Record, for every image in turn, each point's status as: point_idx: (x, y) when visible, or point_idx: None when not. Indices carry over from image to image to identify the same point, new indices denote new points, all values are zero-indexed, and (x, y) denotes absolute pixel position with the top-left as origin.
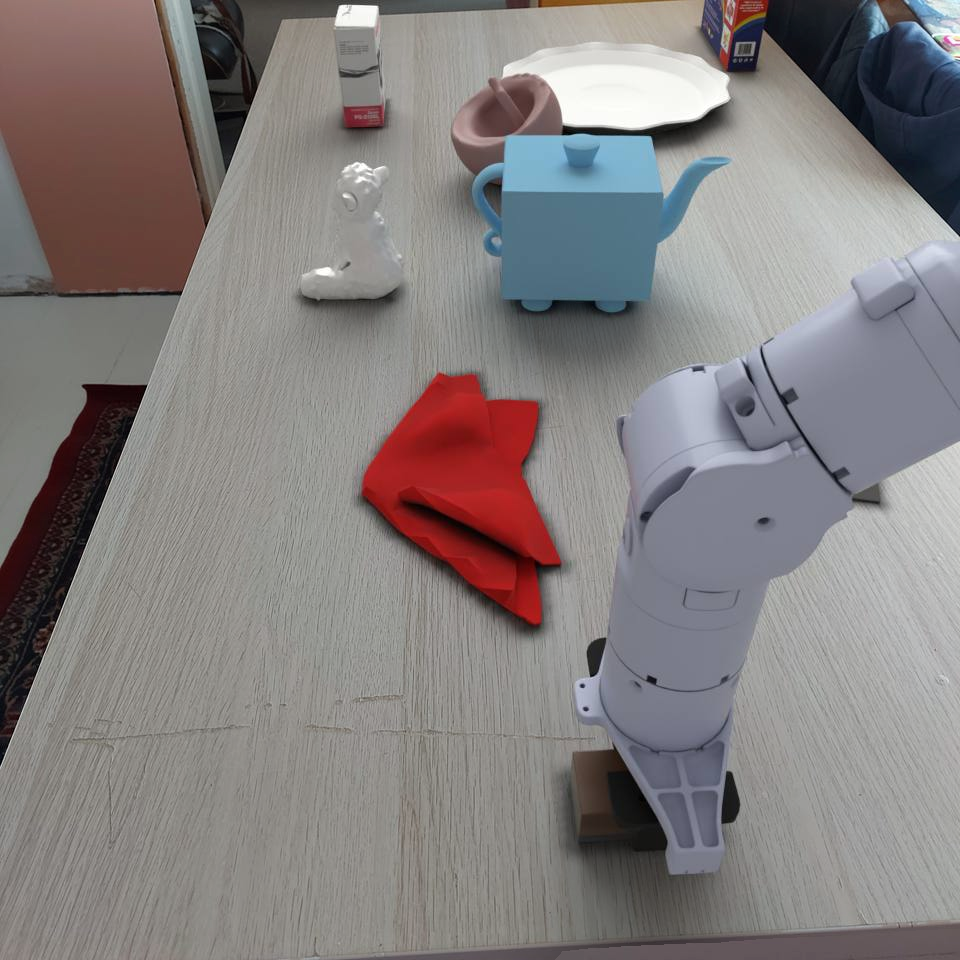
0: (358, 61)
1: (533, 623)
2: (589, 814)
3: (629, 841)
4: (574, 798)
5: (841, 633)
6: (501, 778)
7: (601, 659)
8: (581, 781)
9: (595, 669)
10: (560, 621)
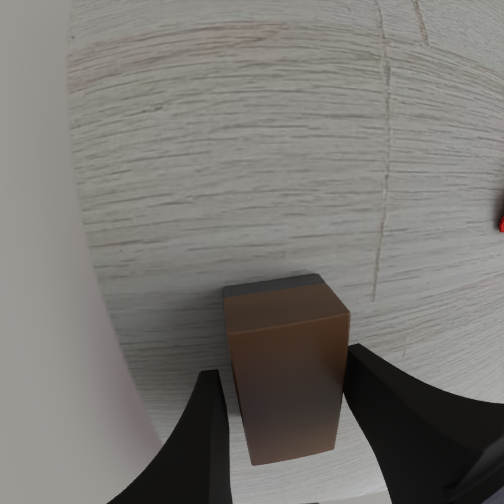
0: None
1: (502, 223)
2: (229, 344)
3: (195, 388)
4: (279, 293)
5: None
6: (321, 170)
7: (497, 450)
8: (292, 331)
9: (488, 452)
10: (496, 252)
